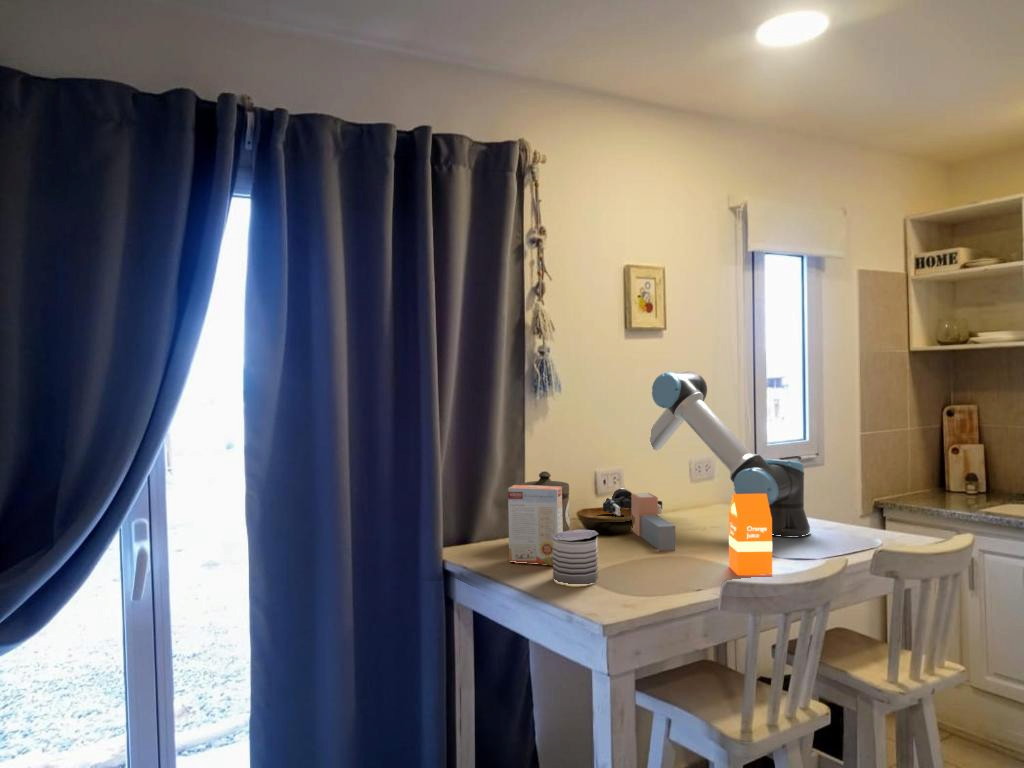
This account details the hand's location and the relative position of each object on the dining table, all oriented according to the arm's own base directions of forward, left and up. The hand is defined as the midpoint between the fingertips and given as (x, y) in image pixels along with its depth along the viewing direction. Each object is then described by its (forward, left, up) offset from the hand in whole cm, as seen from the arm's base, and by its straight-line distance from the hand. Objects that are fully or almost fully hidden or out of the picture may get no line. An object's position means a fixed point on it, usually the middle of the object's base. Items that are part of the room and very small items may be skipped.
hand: (639, 510), depth 229 cm
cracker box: (-6, +48, -7) cm, 49 cm away
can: (-25, +51, -7) cm, 57 cm away
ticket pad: (-14, +7, -7) cm, 17 cm away
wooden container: (+8, +33, -7) cm, 35 cm away
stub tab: (-3, +1, -7) cm, 7 cm away
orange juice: (-48, +11, -7) cm, 50 cm away
